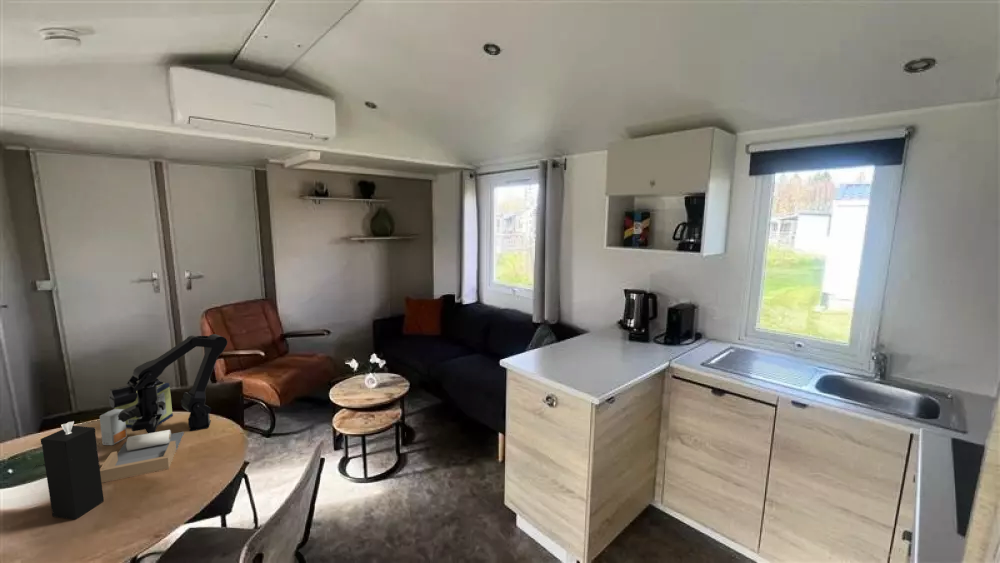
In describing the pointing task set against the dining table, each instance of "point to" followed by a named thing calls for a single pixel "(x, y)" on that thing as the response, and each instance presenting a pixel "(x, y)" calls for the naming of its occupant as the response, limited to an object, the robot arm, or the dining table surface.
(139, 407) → the robot arm
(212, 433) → the dining table surface
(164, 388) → the protein box
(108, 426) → the skincare box
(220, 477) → the dining table surface
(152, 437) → the paper roll
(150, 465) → the holder
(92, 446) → the tissue box
